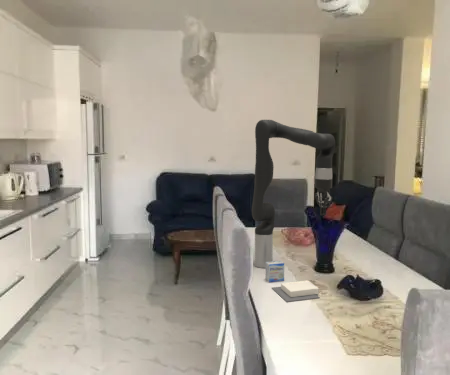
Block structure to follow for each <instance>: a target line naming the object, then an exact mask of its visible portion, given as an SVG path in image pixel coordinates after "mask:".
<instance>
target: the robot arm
mask: <svg viewBox="0 0 450 375" xmlns="http://www.w3.org/2000/svg"><path fill="white" fill-rule="evenodd" d="M254 134H255V135H254V136H255V165H254V186H253V187H254V189H253V198H252V203H251V216H252V219H253V220H254V221H255V222H261V223H260V224H259V225H257V226H256V227H255V229H254V266H255V267H256V268H261V269H265V267H266V264H265V262H273V254H274V253H273V251H274V250H273V247H274V245H273V244H274V242H273V241H274V240H273V237H274V236H273V235H274V229H275V220H276V218H275V217H276V216H275V215H276V211H275V210H276V209H275V206H274V204H273V203H272V202H269V201H267V202H264V197H265V195H266V192H267V190H268V188H269V186H270V185H271V183H272V181H273V178H274V168H275V166H274V162H273V158H272V156H271V153H270V147H269V146H270V139H272V138H273V139H275V138H277V139H279V138H280V139H285V140H288V141H290V142H293V143H295V144H299V145H303V146H309V147H311V148H314V149H318V150H319V154H318V155H317V156H316V161H315V162H316V164H315V174H314V175H315V176H314V177H315V181H314V182H315V184H314V188H316V189H317V192H316V193H313V194H314V198H315V201H316V203H317V206H318V207H319V215H320V216H326V214H327V212H326V211H327V208H329V207H330V204H331V203H332V201H333V196H331V194H330V193H331V191H330V189H332V188H333V156H334V153H335V149H336V148H335V147H336V140H335V137H334V135H333V134H331V133H320V132H315V131H314V130H309V129H306V128H299V127H293V126H290V125H289V126H288V125H285V124H283V123H280V122H278V121H276V120H273V119H260V120H259V121H257V123H255V131H254Z"/></svg>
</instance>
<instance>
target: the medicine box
mask: <svg viewBox="0 0 450 375" xmlns="http://www.w3.org/2000/svg"><path fill="white" fill-rule="evenodd" d="M265 264H266V267H265V268H264V270H265V273H264V274H265V281H267V282H268V283H277V282H284V281H285V262H283V261H282V260H277V261H274V260H273V261H272V262H265Z"/></svg>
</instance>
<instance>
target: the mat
mask: <svg viewBox="0 0 450 375" xmlns="http://www.w3.org/2000/svg"><path fill="white" fill-rule="evenodd" d="M271 290H272V291H274V292H275V293H276V294H277V295H278V296H279V297H280V298H281V299H283V300H284V302H285V303H291V302H293V303H294V302H300V301H307V300H309V301H310V300H315V299H320V296H319V295H318V294H315V295H307V296H299V297H290V296H289V295H288V294H287V293H285V292H284V291H283V290H282V289H281V286H274V287H271Z"/></svg>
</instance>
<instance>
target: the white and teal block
mask: <svg viewBox="0 0 450 375" xmlns="http://www.w3.org/2000/svg"><path fill="white" fill-rule="evenodd" d="M280 287H281V289H282V290H283V291H284V292H285V293H287V294H288V295H289V296H290V297H299V296H307V295H315V294H316V295H319V294H320V292H319V291H320V288H319V287H318V286H316V285H315V284H314V283H312V282H311V281H309V280H301V281H300V280H299V281H291V282H282V283H280Z"/></svg>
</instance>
